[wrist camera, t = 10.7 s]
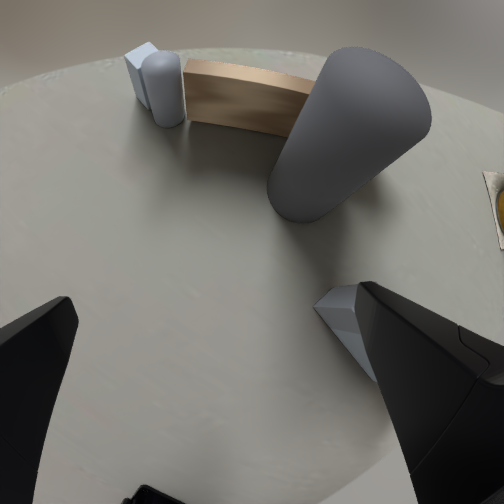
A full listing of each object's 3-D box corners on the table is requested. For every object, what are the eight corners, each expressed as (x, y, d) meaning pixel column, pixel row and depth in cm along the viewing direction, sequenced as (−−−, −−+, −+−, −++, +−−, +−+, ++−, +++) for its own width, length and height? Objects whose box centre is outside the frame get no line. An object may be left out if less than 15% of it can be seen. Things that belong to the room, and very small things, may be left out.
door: (187, 120, 21) (183, 72, 15) (194, 97, 21) (192, 48, 16) (372, 159, 22) (409, 127, 17) (371, 136, 23) (405, 101, 17)
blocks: (392, 360, 21) (442, 373, 15) (370, 382, 20) (417, 403, 14) (158, 82, 22) (149, 30, 16) (134, 97, 21) (118, 47, 15)
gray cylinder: (342, 209, 22) (449, 132, 10) (284, 233, 21) (368, 157, 9) (313, 152, 22) (389, 45, 10) (255, 172, 21) (300, 52, 10)
